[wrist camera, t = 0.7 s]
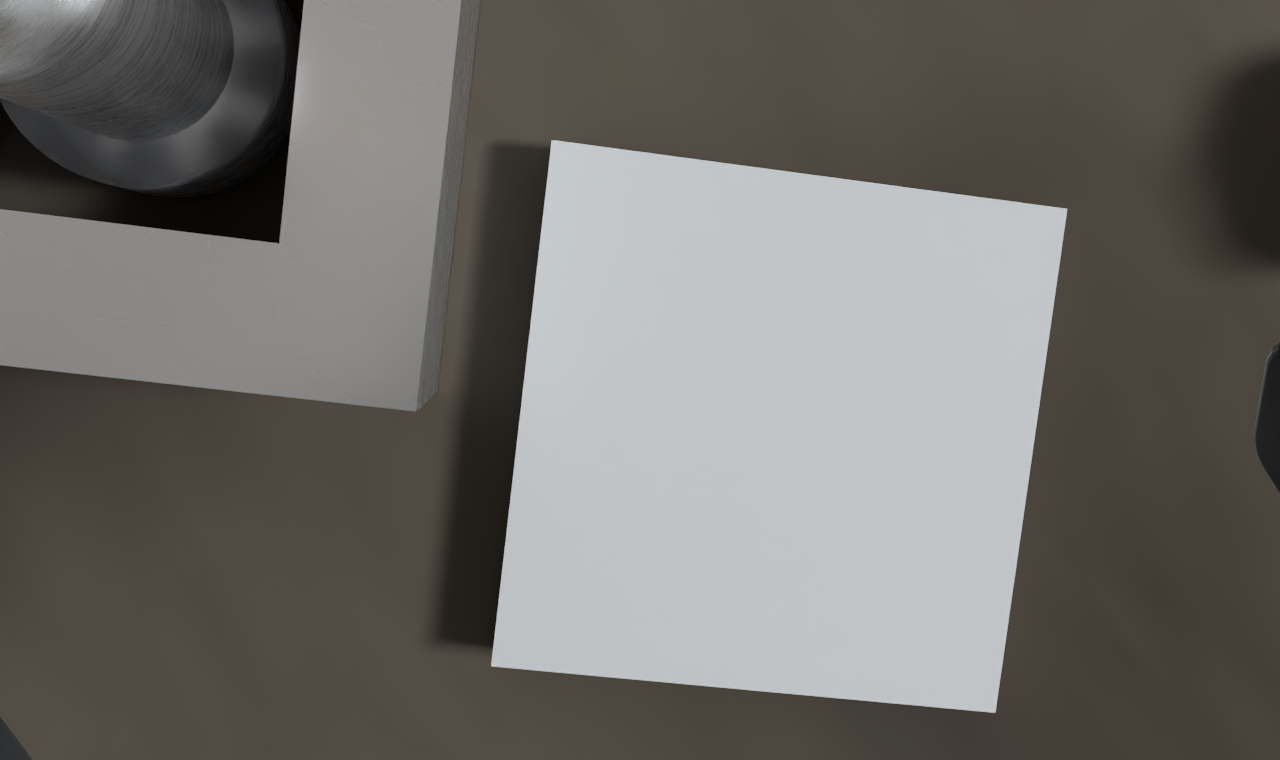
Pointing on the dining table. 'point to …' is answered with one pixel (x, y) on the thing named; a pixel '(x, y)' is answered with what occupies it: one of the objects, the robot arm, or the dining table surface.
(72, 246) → the block
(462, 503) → the dining table surface
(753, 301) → the rubber mat
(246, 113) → the silver metal peg
